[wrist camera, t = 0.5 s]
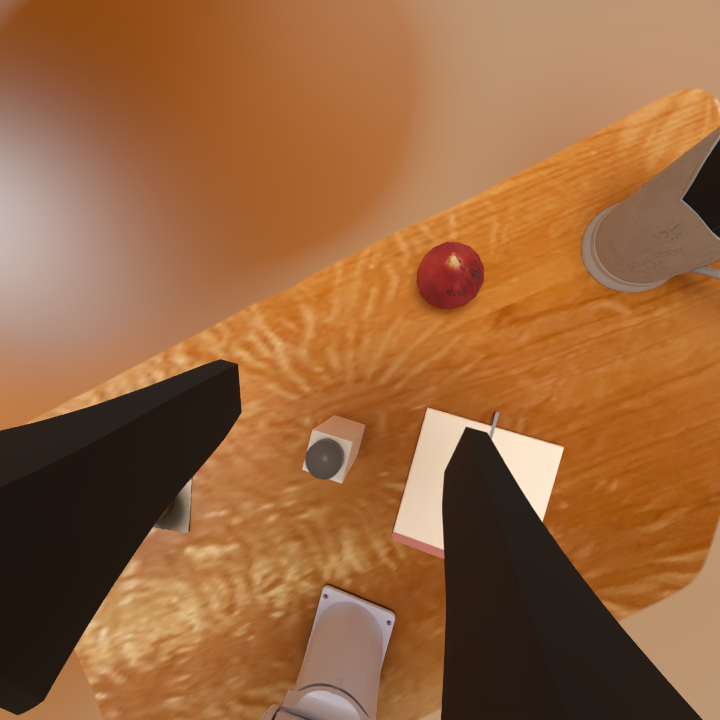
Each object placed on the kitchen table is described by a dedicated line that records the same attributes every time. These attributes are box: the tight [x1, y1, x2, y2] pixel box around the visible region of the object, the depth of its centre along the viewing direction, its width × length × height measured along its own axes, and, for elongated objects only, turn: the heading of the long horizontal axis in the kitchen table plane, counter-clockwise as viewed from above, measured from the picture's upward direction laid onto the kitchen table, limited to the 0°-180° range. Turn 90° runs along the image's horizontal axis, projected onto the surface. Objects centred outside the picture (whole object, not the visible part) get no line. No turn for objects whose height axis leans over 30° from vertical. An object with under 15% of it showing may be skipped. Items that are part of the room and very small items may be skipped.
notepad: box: [391, 407, 564, 559], centre depth 30 cm, size 17×13×1 cm
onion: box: [417, 242, 484, 309], centre depth 27 cm, size 6×6×8 cm
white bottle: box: [302, 415, 366, 484], centre depth 28 cm, size 4×4×9 cm
